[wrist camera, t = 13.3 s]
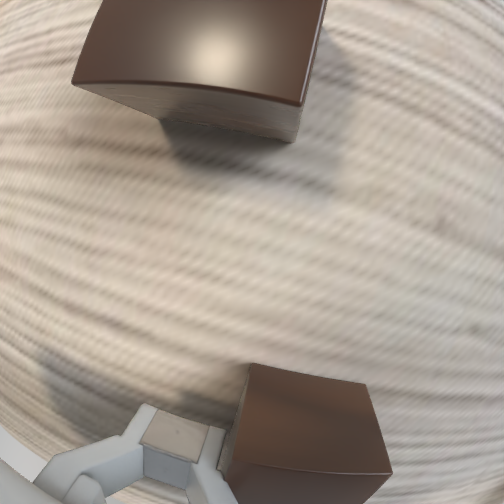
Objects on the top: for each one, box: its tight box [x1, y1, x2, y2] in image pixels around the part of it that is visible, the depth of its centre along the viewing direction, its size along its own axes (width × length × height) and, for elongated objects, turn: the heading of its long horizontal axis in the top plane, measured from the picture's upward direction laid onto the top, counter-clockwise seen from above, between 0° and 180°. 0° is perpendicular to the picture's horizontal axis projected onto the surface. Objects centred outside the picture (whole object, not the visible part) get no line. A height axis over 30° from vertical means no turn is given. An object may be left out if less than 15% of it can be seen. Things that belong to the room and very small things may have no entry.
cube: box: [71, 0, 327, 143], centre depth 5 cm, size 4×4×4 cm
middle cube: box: [221, 363, 393, 504], centre depth 8 cm, size 4×4×4 cm
